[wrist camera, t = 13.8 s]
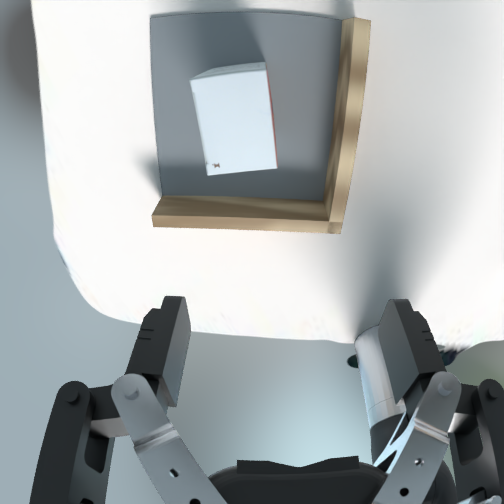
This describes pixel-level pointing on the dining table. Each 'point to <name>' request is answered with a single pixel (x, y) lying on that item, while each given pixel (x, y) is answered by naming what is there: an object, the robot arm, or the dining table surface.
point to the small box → (235, 118)
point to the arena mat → (282, 92)
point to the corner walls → (293, 210)
